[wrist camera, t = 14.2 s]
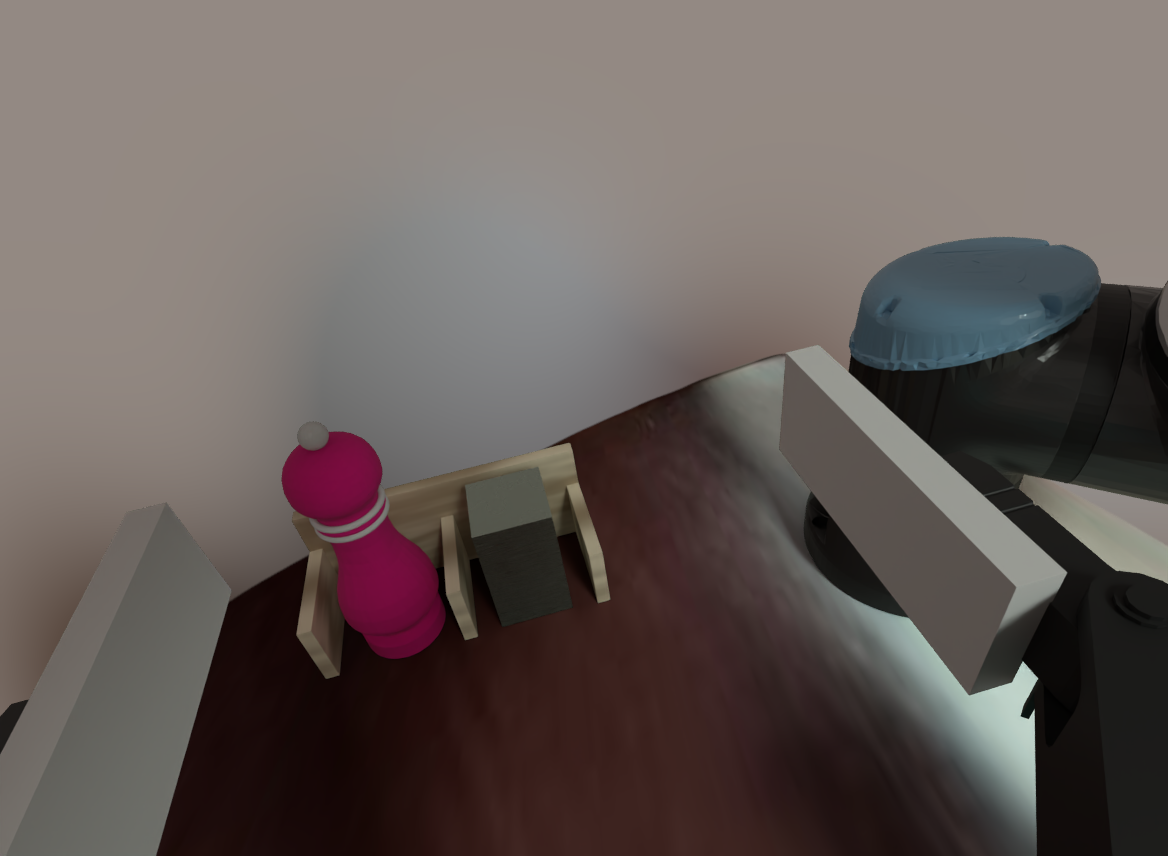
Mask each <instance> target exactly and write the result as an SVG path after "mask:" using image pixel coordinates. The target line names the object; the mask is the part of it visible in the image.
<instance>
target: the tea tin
mask: <svg viewBox="0 0 1168 856" xmlns="http://www.w3.org/2000/svg"><path fill="white" fill-rule="evenodd" d="M465 488H466V496H467V505H468V513H469V521H470V529H471V537H472V541H473V544H474V546H475V549H476V552H477V555H478V558H479V561H480V564H481V567H482V570H483V572H484V575H485V578H486V581H487V584H488V587H489V590H490V593H491V595H492V598H493V601H494V604H495V607H496V610H497V613H498V616H499V619H500V621H501V624H502V627H504V626H508V625H512V624H515V623H519V622H522V621H526V620H530V619H533V618H537V617H540V616H544V615H548V614H551V613H555V612H558V611H562V610H565V609H569V608H573V606H572V601H571V597H570V593H569V588H568V584H567V580H566V575H565V571H564V566H563V562H562V558H561V553H560V549H559V545H558V540H557V536H556V531H555V527H554V523H553V518H552V514H551V511H550V507H549V504H548V500H547V496H546V493H545V489H544V485H543V482H542V478H541V475H540V471H539V467H535V468H531V469H527V470H523V471H519V472H515V473H511V474H507V475H503V476H499V477H495V478H491V479H487V480H483V481H479V482H476V483H472V484H468V485H465Z"/></svg>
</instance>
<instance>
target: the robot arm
mask: <svg viewBox="0 0 1168 856" xmlns="http://www.w3.org/2000/svg"><path fill="white" fill-rule="evenodd" d="M849 347H850V350H851V359H850V366H849V372H848V371H847V370H846V369H844V368H843V367H842V366H841V365H840V364H839V363H838V362H837V361H836V360H835V359H834V358H832V357H831V356H830V355H829V354H828V353H827V352H826V351H825V350H824V349H823V348H822V347H820V346H819V345H816V346H812V347H808V348H804V349H800V350H796V351H791V352H788V353H786V360H785V374H784V389H783V403H782V418H781V432H780V447H779V450H780V451H781V452H782V454H783V455H784V456H785V458H786V459H787V460H788V461H789V463H790V464H791V465H792V467H793V468H794V469H795V470H796V472H797V473H798V474H799V476H800V477H801V478H802V480H803V481H804V482H805V483H806V485H807V486H808V487H809V489H810V490H811V493H810V495H809V498H808V501H807V505H806V512H805V521H804V537H805V542H806V545H807V548H808V550H809V553H810V555H811V556H812V558H813V560H814V561H815V563H816V564H817V566H818V567H819V568H820V570H821V571H822V572H823V573H824V574H825V575H826V576H827V577H828V578H829V579H830V580H831V581H832V582H833V583H834V584H835V585H837V586H838V587H839V588H841V589H842V590H843V591H845V592H846V593H848V594H849V595H851V596H853V597H854V598H856V599H858V600H860V601H862V602H863V603H866V604H868V605H870V606H872V607H875V608H877V609H880V610H883V611H885V612H889V613H892V614H895V615H900V616H904V617H909V618H910V619H911V621H912V622H913V623H914V625H915V626H916V627H917V629H918V630H919V631H920V632H921V634H922V635H923V636H924V638H925V639H926V640H927V642H928V643H929V644H930V645H931V647H932V648H933V649H934V651H935V652H936V653H937V654H938V656H939V657H940V658H941V660H942V661H943V662H944V664H945V665H946V666H947V667H948V669H949V670H950V671H951V673H952V674H953V675H954V676H955V678H956V679H957V680H958V682H959V683H960V684H961V686H962V687H963V688H964V689H965V691H966V692H967V693H968V695H972V694H975V693H978V692H982V691H985V690H988V689H992V688H995V687H998V686H1001V685H1005V684H1008V683H1011V682H1012V681H1013V679H1014V677H1015V675H1016V673H1017V671H1018V669H1019V667H1020V665H1021V663H1022V661H1023V662H1024V663H1025V664H1026V665H1027V666H1028V667H1029V668H1030V670H1031V671H1032V672H1033V673H1034V674H1035V675H1036V676H1037V677H1038V680H1037V682H1036V684H1035V686H1034V687H1033V689H1032V691H1031V693H1030V695H1029V697H1028V698H1027V700H1026V702H1025V704H1024V706H1023V710H1022V713H1021V717H1024V718H1027V719H1029V718H1030V716H1031V714H1032V712H1033V711H1034V709H1035V764H1036V826H1037V856H1168V584H1167V583H1165V582H1163V581H1161V580H1158V579H1155V578H1152V577H1149V576H1146V575H1143V574H1140V573H1132V572H1123V571H1116V570H1114V569H1113V568H1112V567H1110V566H1109V565H1108V564H1106V563H1105V562H1104V561H1103V560H1102V559H1100V558H1099V557H1098V556H1097V555H1096V554H1095V553H1093V552H1092V551H1091V550H1090V549H1089V548H1087V547H1086V546H1085V545H1084V544H1083V543H1082V542H1080V541H1079V540H1078V539H1077V538H1076V537H1075V536H1073V535H1072V534H1071V533H1070V532H1069V531H1068V530H1066V529H1065V528H1064V527H1063V526H1062V525H1060V524H1059V523H1058V522H1057V521H1056V520H1055V519H1053V518H1052V517H1051V516H1050V515H1049V514H1048V513H1046V512H1045V511H1044V510H1043V509H1042V508H1041V507H1039V506H1038V505H1037V506H1035V505H1034V504H1033V501H1032V500H1031V499H1030V498H1029V497H1028V496H1026V495H1025V494H1024V493H1023V492H1022V491H1021V490H1019V486H1020V483H1021V481H1022V478H1023V475H1024V474H1025V475H1030V476H1035V477H1040V478H1044V479H1049V480H1054V481H1059V482H1064V483H1069V484H1074V485H1079V486H1084V487H1088V488H1093V489H1097V490H1103V491H1107V492H1112V493H1117V494H1121V495H1126V496H1131V497H1135V498H1140V499H1145V500H1149V501H1154V502H1159V503H1163V504H1168V281H1167V283H1166V284H1165V286H1164V288H1154V287H1143V286H1130V285H1115V284H1102V283H1101V279H1100V276H1099V275H1098V268H1097V266H1096V264H1095V263H1094V261H1093V260H1092V259H1091V258H1090V257H1089V256H1088V255H1086V254H1084V253H1083V252H1081V251H1079V250H1076V249H1074V248H1072V247H1069V246H1066V245H1052V246H1049V243H1048V242H1047V241H1045V240H1040V239H1030V238H1015V237H992V238H976V239H967V240H959V241H953V242H948V243H942V244H938V245H934V246H930V247H927V248H923V249H921V250H919V251H916V252H912V253H910V254H907V255H904V256H902V257H900V258H898V259H896V260H895V261H893V262H891V263H889V264H888V265H887V266H885V267H884V268H883V269H881V270H880V271H879V272H878V273H877V274H876V275H875V276H874V277H873V278H872V279H871V280H870V282H869V283H868V285H867V287H866V288H865V290H864V292H863V295H862V298H861V303H860V308H859V313H858V317H857V322H856V327H855V329H854V331H853V332H852V334H851V337H850V343H849ZM231 591H232V590H231V588H230V587H229V586H228V584H227V583H226V582H225V580H224V579H223V578H222V576H221V575H220V574H219V572H218V571H217V570H216V568H215V567H214V566H213V565H212V563H211V562H210V560H209V559H208V558H207V556H206V555H205V554H204V552H203V551H202V550H201V548H200V547H199V546H198V544H197V543H196V542H195V540H194V539H193V538H192V536H191V535H190V533H189V532H188V531H187V529H186V528H185V527H184V525H183V524H182V523H181V521H180V520H179V519H178V517H177V516H176V515H175V513H174V512H173V511H172V509H171V508H170V507H169V505H168V504H167V503H163V504H158V505H154V506H150V507H146V508H142V509H138V510H134V511H130V512H127V513H126V514H125V516H124V518H123V520H122V522H121V524H120V526H119V528H118V530H117V532H116V534H115V535H114V537H113V539H112V541H111V543H110V545H109V547H108V549H107V551H106V553H105V555H104V557H103V558H102V561H101V562H100V564H99V566H98V568H97V570H96V572H95V574H94V576H93V578H92V580H91V582H90V583H89V585H88V587H87V589H86V591H85V593H84V595H83V597H82V599H81V601H80V603H79V605H78V606H77V609H76V610H75V612H74V614H73V616H72V618H71V620H70V622H69V624H68V626H67V628H66V629H65V632H64V633H63V635H62V637H61V639H60V641H59V643H58V645H57V647H56V649H55V651H54V653H53V654H52V656H51V658H50V660H49V662H48V664H47V666H46V668H45V670H44V672H43V674H42V676H41V678H40V679H39V681H38V683H37V685H36V687H35V689H34V691H33V693H32V695H31V697H30V699H29V700H25V701H21V702H18V703H14V704H11V705H10V706H9V707H8V709H7V710H6V711H5V712H4V713H3V714H2V715H1V716H0V856H156V853H157V850H158V846H159V843H160V839H161V836H162V832H163V829H164V825H165V822H166V818H167V815H168V811H169V808H170V804H171V801H172V797H173V794H174V790H175V787H176V784H177V780H178V777H179V773H180V770H181V766H182V763H183V759H184V756H185V752H186V749H187V745H188V742H189V738H190V735H191V731H192V728H193V724H194V721H195V717H196V714H197V710H198V707H199V703H200V700H201V696H202V693H203V689H204V686H205V682H206V679H207V675H208V672H209V668H210V665H211V661H212V658H213V654H214V651H215V647H216V644H217V640H218V637H219V633H220V630H221V626H222V623H223V619H224V616H225V612H226V609H227V605H228V602H229V598H230V595H231Z"/></svg>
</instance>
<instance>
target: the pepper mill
mask: <svg viewBox="0 0 1168 856" xmlns="http://www.w3.org/2000/svg"><path fill="white" fill-rule="evenodd" d="M297 438H298V442H299V443H300V445H298V446H297V447H296V448H295V449H294V450H293V451H292V452H291V454H290V456H289V457H288V459H287V461H286V462H285V465H284V467H283V472H282V485H283V490H284V494H285V495H286V498H287V499H288V502H289V503H290V504H291V506H292V507H293V508H294V509H295V510H296V511H297V512H298V513H300V514H302V515H303V516H306V517H309V521H310V523H311V525H312V526H313V527H314V529H315V532H316V534H317V535H318V536H319V538H321V539H322V540H324V541H327V542H330V543H331V545H332V546H333V549H334V551H335V554H336V556H337V560H338V582H337V595H338V602H339V606H340V609H341V611H342V613H343V615H344V618H345V620H346V621H347V622H348V624H349V625H350V626H351V627H352V628H354V629H355V630H357V631H358V632H361V633H362V634H363V636H364V637H365V639H366V641H367V643H368V644H369V646H370V648H371V649H372V650H373V651H374V652H375V653H376V654H377V655H379V656H382V657H384V658H390V659H399V658H405V657H409V656H412V655H414V654H416V653H419V652H421V651H422V650H423V649H425V648H426V647H427V646H429V645H430V644H431V643H432V642H433V641H434V640H435V639H436V638H437V636H438V635H439V633H440V632H441V630H442V628H443V625H444V622H445V617H446V612H445V607H444V604H443V602H442V600H441V597H440V595H439V593H438V587H439V579H438V574H437V571H436V569H435V567H434V565H433V563H432V562H431V560H430V558H429V557H428V555H427V554H426V553H425V552H424V551H423V550H422V549H421V548H420V547H419V546H417V545H416V544H415V543H413V542H412V541H410V540H409V539H407V538H406V537H404V536H403V535H402V534H401V533H399V532H398V531H397V529H396V528H395V527H394V526H393V524H392V522H391V521H390V519H389V517H388V515H387V514H388V511H389V506H390V505H389V499H388V497H387V496H386V494H385V490H384V488H383V487H382V485H381V484H380V483H381V478H382V466H381V463H380V460H379V457H378V455H377V454H376V452H375V450H374V449H373V448H372V447H371V446H370V444H369V443H367V442H366V441H365V440H364V439H362V438H361V437H358V436H356V435H354V434H351V433H347V432H328V430H327V429H326V427H325V426H324V425H322V424H321V423H318V422H308V423H306V424H304V425H303V426H301V427H300V429H299V431H298V434H297Z"/></svg>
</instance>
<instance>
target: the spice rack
mask: <svg viewBox="0 0 1168 856" xmlns="http://www.w3.org/2000/svg"><path fill="white" fill-rule="evenodd" d="M535 467H539V471H540V475H541V478H542V482H543V485H544V489H545V493H546V496H547V500H548V504H549V507H550V511H551V514H552V518H553V523H554V527H555V531H556V536H561V535H565V534H569V533H573V532H576V534H577V537H578V540H579V544H580V547H581V550H582V553H583V557H584V560H585V563H586V566H587V569H588V573H589V576H590V579H591V582H592V585H593V589H594V592H595V595H596V598H597V602H598V603H600V602H604V601H607V600H610V595H609V589H608V583H607V577H606V571H605V565H604V559H603V553H602V550H601V547H600V544H599V541H598V538H597V536H596V533H595V530H594V527H593V524H592V521H591V518H590V515H589V512H588V509H587V507H586V504H585V501H584V498H583V495H582V492H581V489H580V486H579V483H578V479H577V473H576V468H575V462H574V457H573V452H572V448H571V445H570V443H567V444H563V445H559V446H555V447H551V448H547V449H543V450H539V451H535V452H531V453H527V454H523V455H519V456H515V457H511V458H507V459H503V460H499V461H495V462H491V463H488V464H484V465H479V466H476V467H471V468H467V469H463V470H459V471H456V472H451V473H447V474H443V475H439V476H436V477H431V478H427V479H423V480H419V481H415V482H411V483H407V484H403V485H399V486H395V487H392V488H387V489H384V490H385V494H386V496H387V497H388V499H389V505H390V506H389V511H388V514H387V515H388V517H389V519H390V521H391V522H392V524H393V526H394V527H395V528H396V529H397V531H398V532H399V533H401V534H402V535H403V536H404V537H406V538H407V539H409V540H410V541H412V542H413V543H415V544H416V545H417V546H419V547H420V548H421V549H422V550H423V551H424V552H425V553H426V554H427V555H428V557H429V558H430V560H431V562H432V563H433V565H434V567H435V569H437V568H441V567H444V569H445V583H446V595H447V598H448V600H449V602H450V605H451V607H452V610H453V612H454V614H455V617H456V619H457V622H458V624H459V626H460V629H461V631H462V634H463V636H464V639H465V640H468V639H471V638H475V637H478V631H477V623H476V614H475V605H474V596H473V588H472V579H471V570H470V561H469V560H471V559H475V558H478V555H477V552H476V549H475V546H474V544H473V541H472V537H471V529H470V521H469V513H468V505H467V496H466V488H465V485H468V484H472V483H476V482H479V481H483V480H487V479H491V478H495V477H499V476H503V475H507V474H511V473H515V472H519V471H523V470H527V469H531V468H535ZM292 522H293V524H294V525H295V527H296V529H297V531H298V532H299V534H300V536H301V538H302V539H303V541H304V543H305V544H306V546H307V548H308V550H309V551H310V554H309V560H308V566H307V572H306V578H305V585H304V591H303V597H302V603H301V609H300V616H299V622H298V628H297V634H296V635H297V637H298V638H299V640H300V641H301V643H302V644H303V646H304V647H305V649H306V650H307V652H308V653H309V654H310V656H311V657H312V659H313V660H314V662H315V663H316V665H317V666H318V668H319V669H320V671H321V672H322V674H323V675H324V677H325V678H326V679H328V678H331V677H335V676H339V675H340V666H341V655H342V644H343V633H344V622H345V618H344V615H343V613H342V611H341V609H340V606H339V602H338V595H337V582H338V560H337V556H336V554H335V551H334V549H333V546H332V545H331V543H330V542H327V541H324V540H322V539H321V538H319V536H318V535H317V534H316V532H315V529H314V527H313V526H312V525H311V523H310V521H309V517H306V516H303V515H302V514H300V513H298V512H297V511H296V512H293V517H292Z"/></svg>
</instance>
